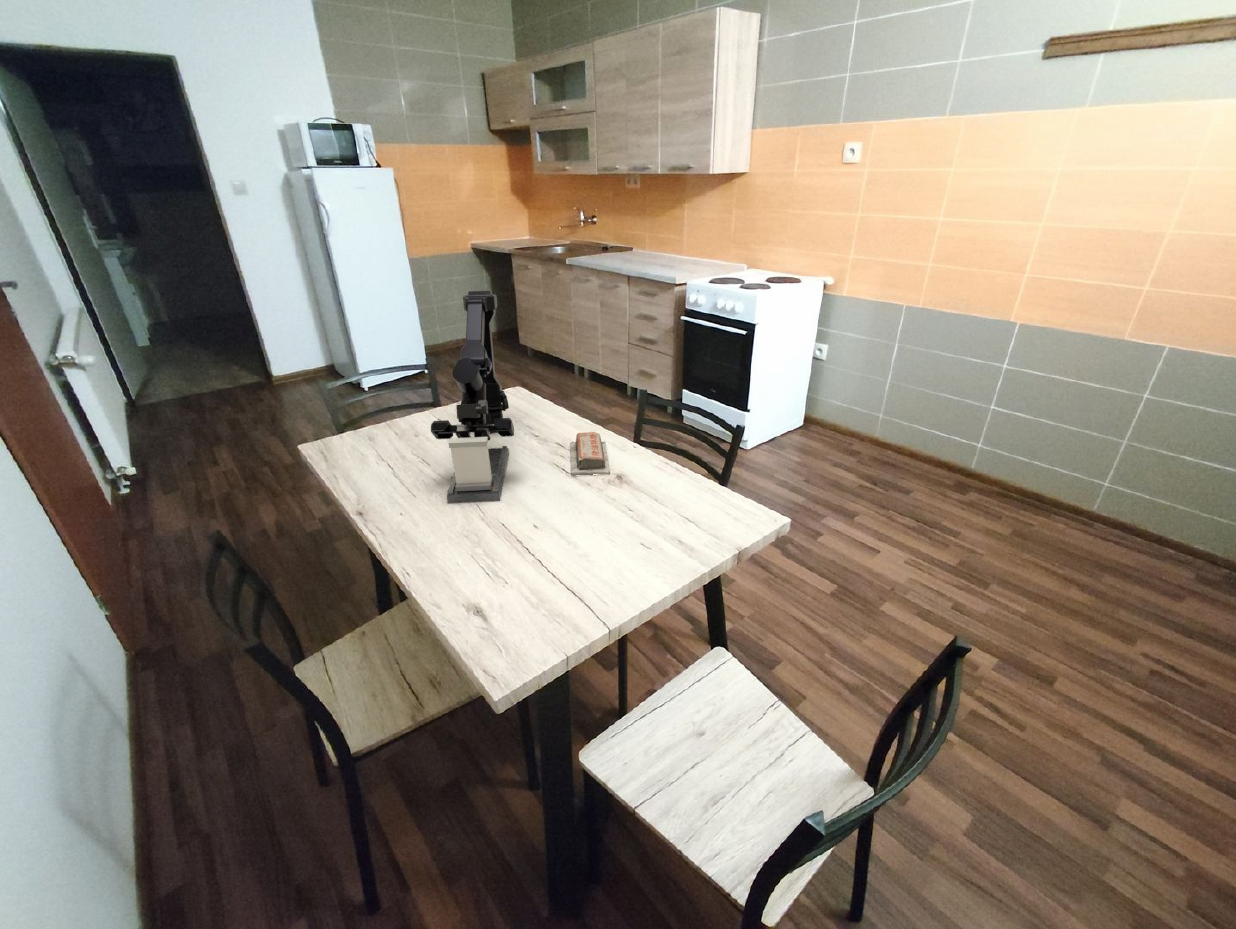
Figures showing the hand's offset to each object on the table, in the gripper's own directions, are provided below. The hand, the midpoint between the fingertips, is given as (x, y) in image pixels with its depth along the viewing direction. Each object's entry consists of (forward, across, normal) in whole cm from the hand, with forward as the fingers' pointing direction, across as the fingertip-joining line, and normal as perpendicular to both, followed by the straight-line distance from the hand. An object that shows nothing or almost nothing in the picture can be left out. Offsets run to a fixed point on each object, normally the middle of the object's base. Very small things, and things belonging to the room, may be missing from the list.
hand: (472, 462), depth 133 cm
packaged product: (-4, +28, +16) cm, 32 cm away
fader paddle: (+5, 0, +3) cm, 6 cm away
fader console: (0, 0, +10) cm, 10 cm away
